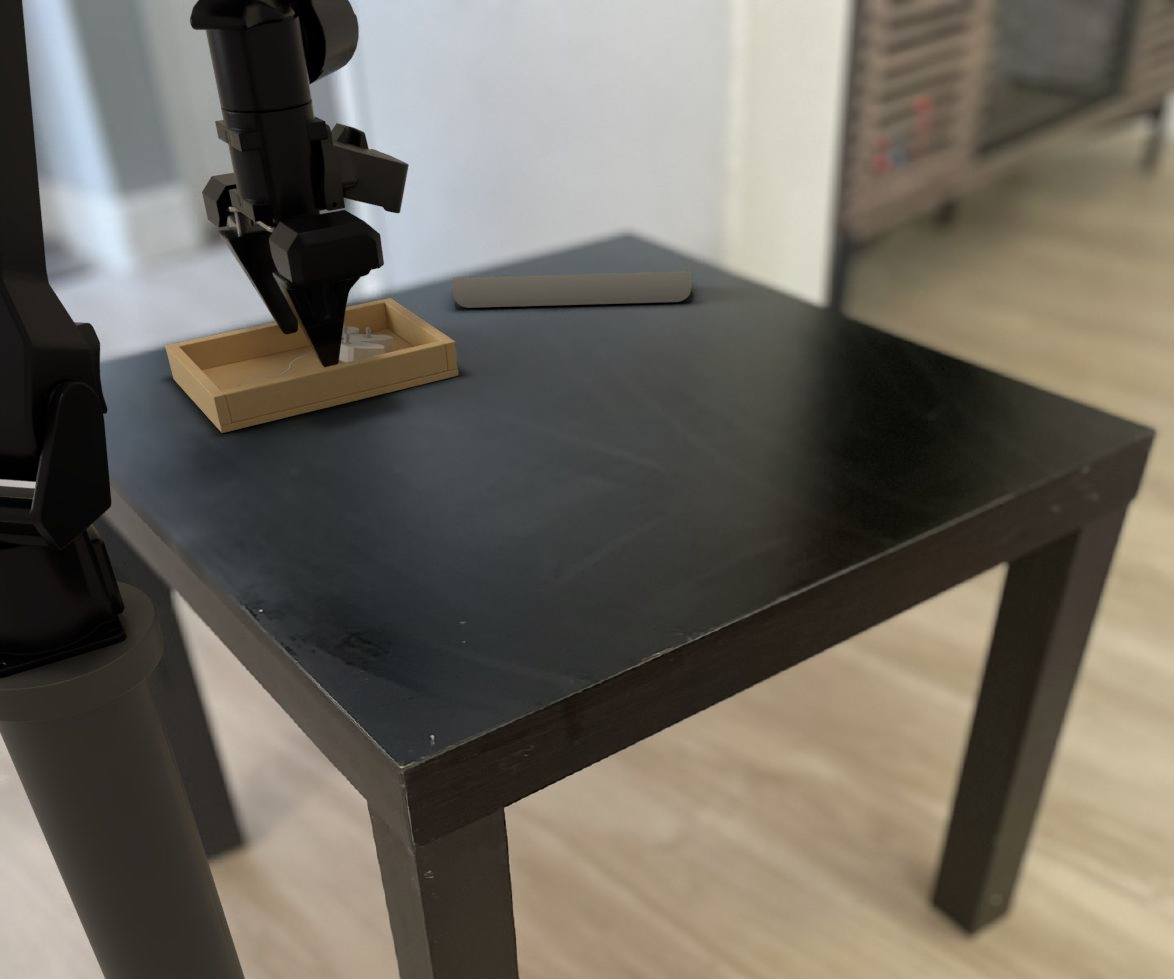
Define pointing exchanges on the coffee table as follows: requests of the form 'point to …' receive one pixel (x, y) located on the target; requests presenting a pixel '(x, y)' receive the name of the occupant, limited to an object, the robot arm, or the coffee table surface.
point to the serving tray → (305, 367)
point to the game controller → (360, 345)
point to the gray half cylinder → (572, 289)
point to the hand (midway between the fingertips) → (310, 348)
